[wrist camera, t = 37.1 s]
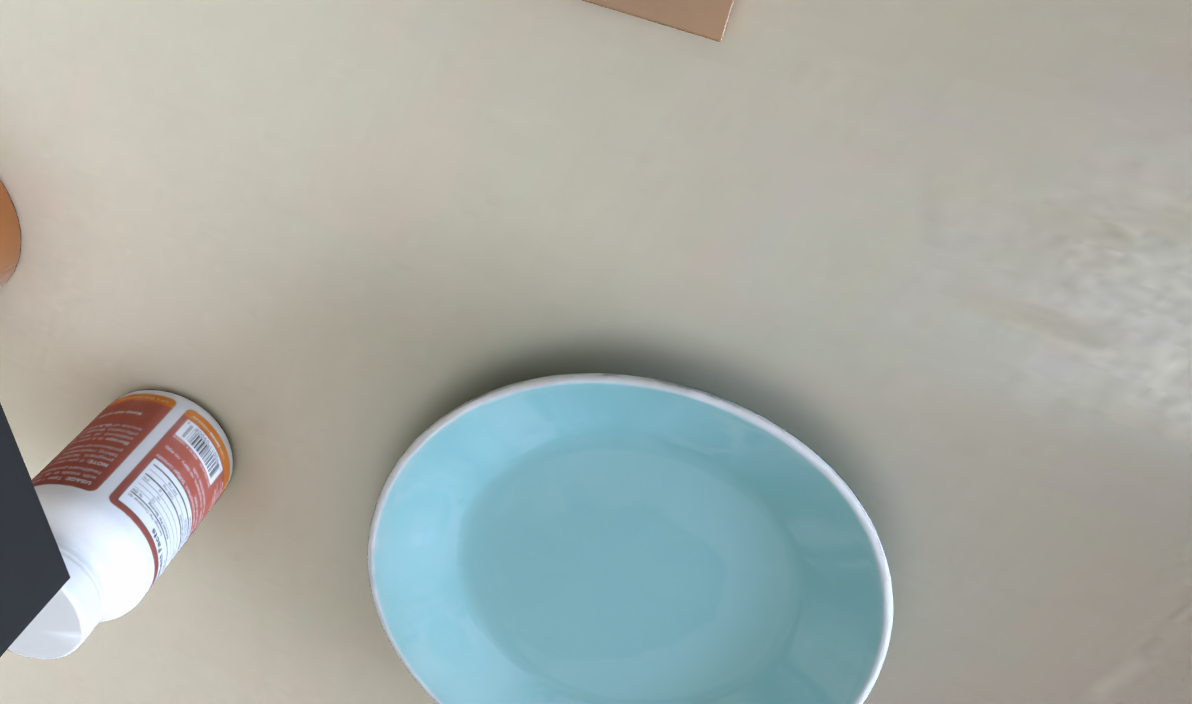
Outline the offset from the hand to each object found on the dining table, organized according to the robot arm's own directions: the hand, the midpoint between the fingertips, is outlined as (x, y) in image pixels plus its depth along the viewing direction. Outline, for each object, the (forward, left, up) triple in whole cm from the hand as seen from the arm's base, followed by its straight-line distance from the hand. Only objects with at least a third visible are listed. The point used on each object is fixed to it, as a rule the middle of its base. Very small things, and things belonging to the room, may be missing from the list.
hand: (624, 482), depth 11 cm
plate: (+25, +3, -29) cm, 38 cm away
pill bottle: (+26, -18, -29) cm, 43 cm away
